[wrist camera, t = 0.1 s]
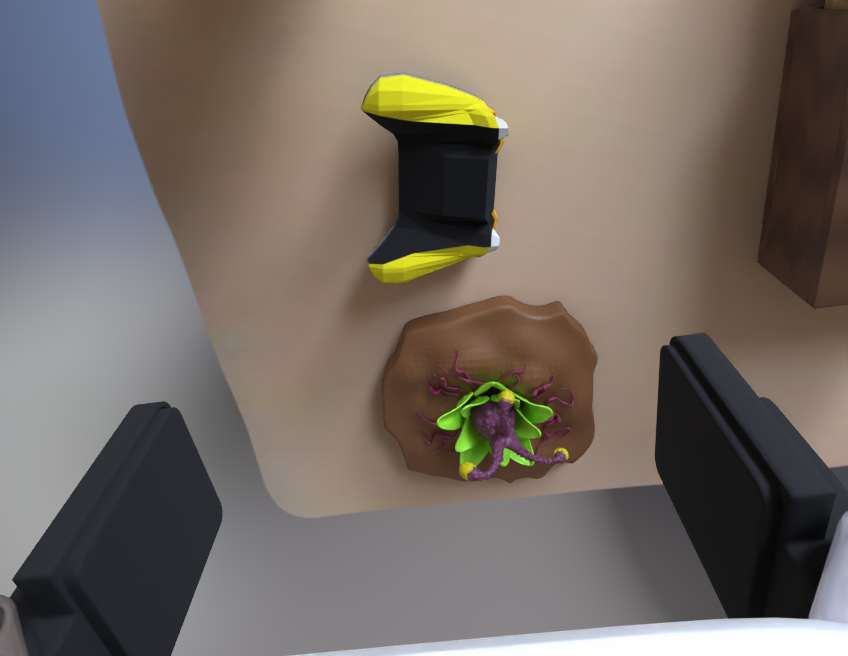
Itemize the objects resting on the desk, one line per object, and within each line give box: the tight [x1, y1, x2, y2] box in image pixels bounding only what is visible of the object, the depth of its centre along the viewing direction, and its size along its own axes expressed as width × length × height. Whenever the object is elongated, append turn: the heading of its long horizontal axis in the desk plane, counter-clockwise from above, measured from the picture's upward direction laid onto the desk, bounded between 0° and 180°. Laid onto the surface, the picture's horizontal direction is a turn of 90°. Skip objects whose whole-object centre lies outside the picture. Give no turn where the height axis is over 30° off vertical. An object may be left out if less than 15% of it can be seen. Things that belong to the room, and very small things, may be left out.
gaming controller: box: [361, 73, 508, 284], centre depth 44 cm, size 15×6×10 cm
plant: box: [382, 296, 597, 483], centre depth 51 cm, size 20×20×11 cm
